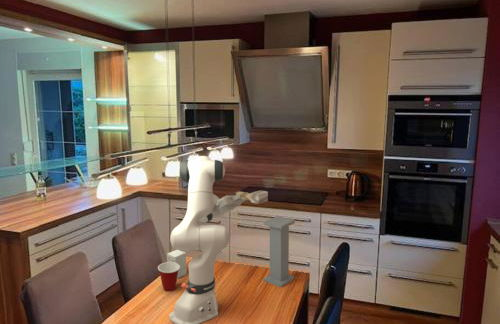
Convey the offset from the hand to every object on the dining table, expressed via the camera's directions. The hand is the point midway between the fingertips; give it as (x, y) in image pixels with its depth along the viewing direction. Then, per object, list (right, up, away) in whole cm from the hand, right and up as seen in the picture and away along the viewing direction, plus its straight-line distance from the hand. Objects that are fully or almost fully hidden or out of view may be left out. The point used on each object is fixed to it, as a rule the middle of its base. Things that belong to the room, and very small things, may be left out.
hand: (243, 194), depth 200 cm
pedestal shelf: (+19, -44, -9) cm, 48 cm away
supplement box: (-36, -43, -2) cm, 56 cm away
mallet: (+4, -2, -3) cm, 5 cm away
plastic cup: (-36, -46, -17) cm, 61 cm away
